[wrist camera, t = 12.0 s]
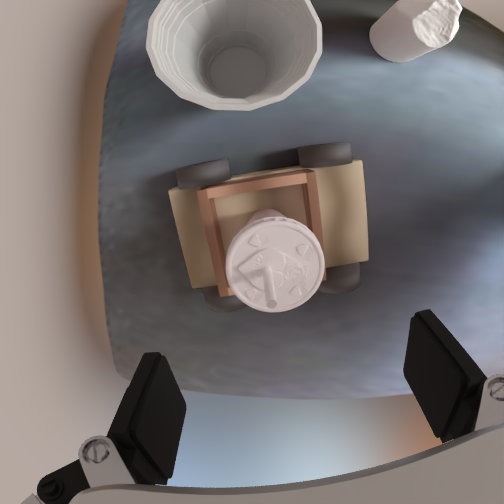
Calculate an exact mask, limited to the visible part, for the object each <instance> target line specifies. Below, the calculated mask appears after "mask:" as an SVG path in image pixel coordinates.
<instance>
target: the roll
mask: <svg viewBox="0 0 504 504" xmlns="http://www.w3.org/2000/svg"><path fill="white" fill-rule="evenodd" d="M461 11H462V7H461V5H460V4H459V2H458V0H399V1H397V2H396V3H395V4H394V5H393V6H392V7H391V8H390V9H389V10H388V11H387V12H386V13H385V14H384V15H383V16H382V17H380V18H379V20H377V21H376V22H375V23H374V24H373V25H372V27H371V29H370V32H369V37H370V42H371V44H372V46H373V48H374V50H375V51H376V52H377V53H378V54H379V55H380V56H381V57H383V58H385V59H386V60H389V61H392V62H397V63H404V62H407V61H409V60H412V59H414V58H416V57H419V56H421V55H423V54H425V53H428V52H430V51H432V50H435V49H437V48H440V47H442V46H444V45H446V44H447V43H449V42H450V41H451V40H452V39H453V38H454V36H455V34H456V32H457V31H458V29H459V22H458V18H459V15H460V13H461Z"/></svg>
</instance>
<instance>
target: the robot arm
mask: <svg viewBox="0 0 504 504" xmlns="http://www.w3.org/2000/svg"><path fill="white" fill-rule="evenodd" d="M403 372H404V376H405V378H406V380H407V382H408V384H409V386H410V388H411V390H412V392H413V393H414V395H415V397H416V399H417V401H418V403H419V405H420V407H421V409H422V411H423V413H424V415H425V417H426V419H427V421H428V423H429V425H430V427H431V428H432V431H433V433H434V435H435V436H436V437H437V438H439V437H440V439H441V441H442V443H444V444H442V445H440V446H437V447H434V448H431V449H429V450H426V451H423V452H420V453H418V454H415V455H412V456H409V457H406V458H403V459H400V460H396V461H393V462H390V463H386V464H383V465H379V466H376V467H372V468H368V469H364V470H360V471H356V472H352V473H347V474H343V475H338V476H333V477H328V478H322V479H317V480H310V481H303V482H296V483H288V484H279V485H269V486H257V487H256V486H255V487H235V488H198V487H197V488H196V487H172V486H159V485H167V480H168V478H171V477H172V475H173V470H174V465H175V461H176V456H177V451H178V446H179V441H180V437H181V432H182V427H183V423H184V418H185V414H186V403H185V400H184V398H183V396H182V394H181V392H180V389H179V387H178V385H177V382H176V380H175V378H174V376H173V373H172V371H171V369H170V366H169V364H168V361H167V359H166V357H165V356H162V355H161V354H160V353H159V352H150V353H144V355H143V356H142V359H141V361H140V363H139V365H138V367H137V370H136V372H135V374H134V376H133V378H132V381H131V383H130V385H129V387H128V388H127V390H126V392H125V394H124V396H123V399H122V401H121V403H120V405H119V408H118V410H117V413H116V415H115V417H114V419H113V422H112V424H111V427H110V429H109V431H108V434H107V436H106V437H105V436H94V437H91V438H89V439H87V440H86V441H85V442H84V443H83V444H82V445H81V447H80V449H79V453H78V454H79V459H78V460H76V461H74V462H72V463H70V464H68V465H67V466H65V467H62V468H61V469H58V470H56V471H55V472H52V473H50V474H48V475H46V476H45V477H44V478H42V479H41V480H40V482H39V484H38V486H37V495H36V496H35V495H34V494H31V495H30V496H29V497H28V498H27V499H26V500H24V501H23V502H22V503H21V504H504V375H503V374H496V375H492V376H491V377H489V378H487V377H486V376H485V375H484V373H483V372H482V371H481V369H480V368H479V367H478V366H477V364H476V363H475V362H474V361H473V359H472V358H471V357H470V356H469V354H468V353H467V352H466V351H465V349H464V348H463V347H462V346H461V345H460V343H459V342H458V341H457V340H456V339H455V337H454V336H453V335H452V334H451V333H450V332H449V330H448V329H447V328H446V327H445V326H444V325H443V323H442V322H441V321H440V320H439V319H438V318H437V317H436V316H435V314H434V313H433V312H432V311H431V310H430V309H427V310H423V311H419V312H416V313H415V315H414V317H412V318H411V321H410V329H409V337H408V344H407V350H406V356H405V362H404V368H403ZM452 439H454V440H452ZM449 440H452V441H449ZM447 441H449V442H447ZM445 442H447V443H445ZM155 484H159V485H155Z"/></svg>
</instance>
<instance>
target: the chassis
mask: <svg viewBox="0 0 504 504" xmlns="http://www.w3.org/2000/svg"><path fill="white" fill-rule="evenodd" d="M297 149H298V156H299V162H300V165H298V166H291V167H284V168H277V169H270V170H264V171H257V172H251V173H245V174H239V175H234V176H231V173H230V167H229V162H228V159H220V160H214V161H209V162H204V163H199V164H194V165H190V166H186V167H182V168H178V169H175V173H176V178H177V182H178V186H177V187H174V188H172V189H170V190H169V191H168V192H169V196H170V201H171V205H172V210H173V214H174V218H175V223H176V227H177V231H178V235H179V239H180V243H181V247H182V251H183V255H184V259H185V263H186V267H187V271H188V275H189V278H190V282H191V286H192V289H194V288H201V287H203V293H204V297H205V300H206V304H207V307H208V308H209V309H210V310H212V311H215V312H231V311H235V310H238V309H241V308H243V307H245V306H247V305H246V304H245V303H243V302H242V301H241V300H240V299H239V298H238V297H237V296H236V295H235V294H234V292H233V291H232V289H231V288H230V286H229V283H228V280H227V276H226V257H227V251H228V248H229V246H230V244H231V242H232V240H233V238H234V237H235V236H236V235H237V234H238V233H239V232H240V230H241V229H242V228H244V227H245V226H246V225H247V223H248V221H249V219H250V218H251V216H252V215H253V214H254V213H255V212H257V211H259V210H261V209H266V208H269V209H274V210H277V211H278V212H280V213H281V214H282V215H284V216H285V217H286V218H290V219H294V220H296V221H298V222H300V223H301V224H303V225H305V226H306V227H307V228H308V229H309V230H310V231H311V232H312V233H314V235H315V237H316V238H317V240H318V242H319V243H320V246H321V249H322V251H323V255H324V261H325V269H324V275H323V278H322V281H321V283H320V286H319V287H318V289H317V290H319V291H321V292H323V293H328V294H342V293H347V292H350V291H352V290H354V289H356V288H357V287H358V286H359V285H360V263H359V262H363V261H368V260H369V252H368V227H367V210H366V196H365V184H364V174H363V164H362V160H357V159H352V154H351V146H350V142H343V143H329V144H319V145H310V146H303V147H298V148H297Z"/></svg>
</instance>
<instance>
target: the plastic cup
mask: <svg viewBox="0 0 504 504" xmlns="http://www.w3.org/2000/svg"><path fill="white" fill-rule="evenodd" d="M146 50H147V53H148V55H149V58H150V60H151V63H152V66H153V68H154V71H155V73H156V76H157V77H158V78H160V79H161V80H162V81H163V82H164V83H165V84H166V85H167V86H168V87H169V88H170V89H171V90H173V91H174V92H175V93H176V94H177V95H178V96H179V97H180V98H183V99H186V100H188V101H191V102H194V103H196V104H199V105H202V106H204V107H207V108H209V109H212V110H246V111H251V110H253V109H256V108H259V107H262V106H265V105H268V104H272V103H275V102H278V101H281V100H284V99H285V98H287V97H288V96H289V95H290V94H291V93H293V92H294V91H295V90H296V89H297V88H299V87H300V86H301V85H302V84H304V83H305V82H306V81H307V80H309V78H310V76H311V74H312V72H313V70H314V68H315V66H316V64H317V62H318V60H319V58H320V56H321V54H322V24H321V22H320V20H319V18H318V16H317V14H316V12H315V10H314V8H313V6H312V4H311V2H310V0H161V1H160V3H159V5H158V6H157V8H156V9H155V11H154V12H153V14H152V16H151V17H150V19H149V25H148V33H147V41H146Z"/></svg>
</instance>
